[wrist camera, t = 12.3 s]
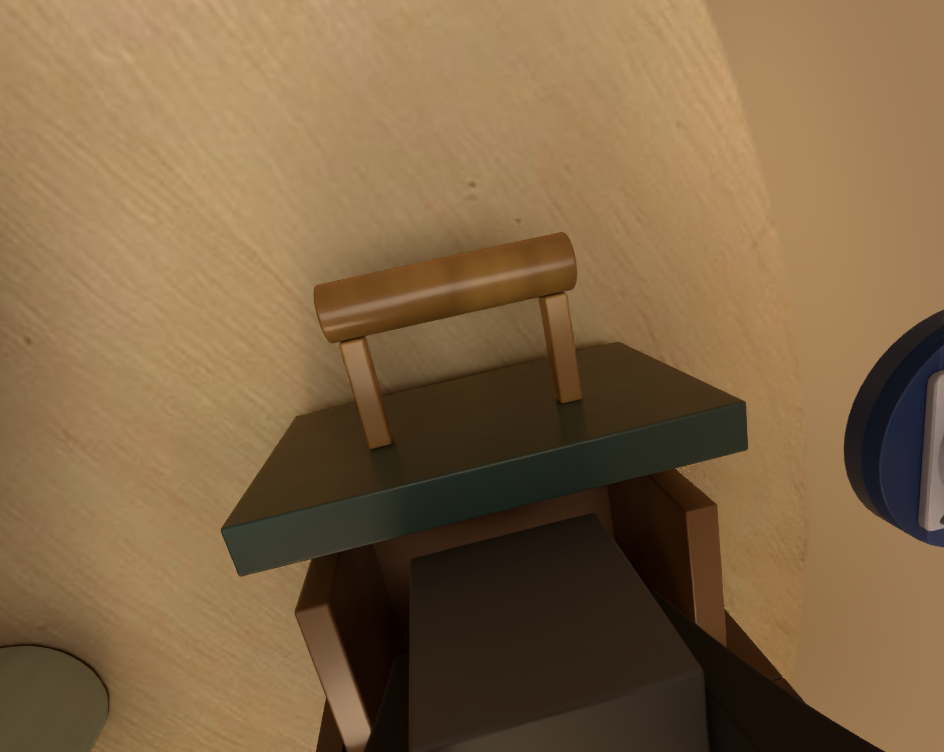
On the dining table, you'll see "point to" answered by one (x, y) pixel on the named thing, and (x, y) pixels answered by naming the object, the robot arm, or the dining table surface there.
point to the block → (547, 650)
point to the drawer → (477, 464)
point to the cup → (48, 702)
